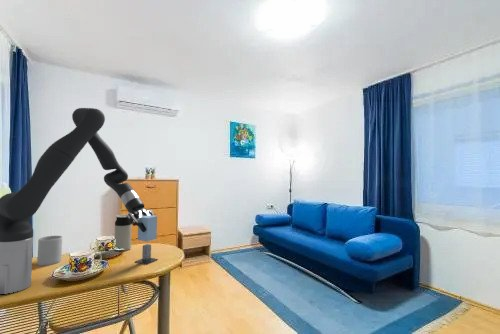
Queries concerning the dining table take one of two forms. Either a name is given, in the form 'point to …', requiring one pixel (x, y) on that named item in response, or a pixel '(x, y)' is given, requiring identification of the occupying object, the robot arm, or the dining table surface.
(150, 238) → the blue rectangular block
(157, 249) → the dining table surface
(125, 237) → the travel mug
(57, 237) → the mug
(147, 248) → the post
